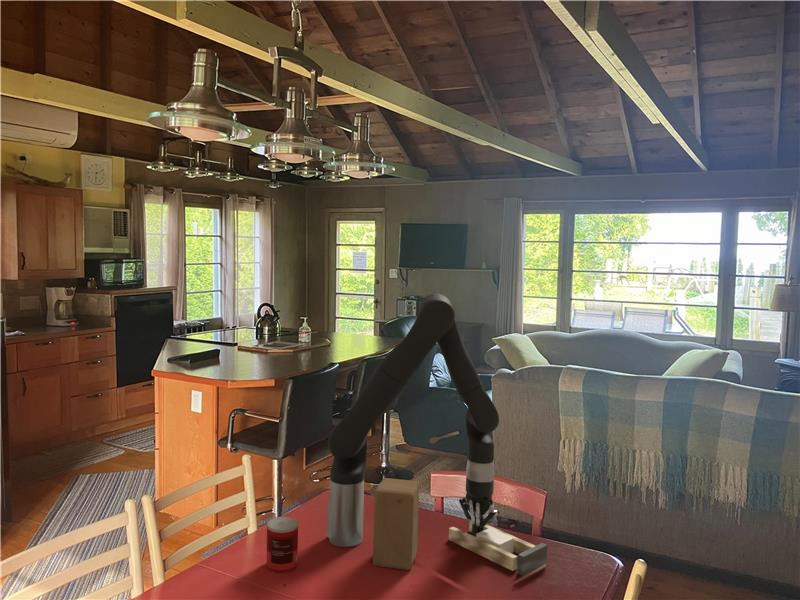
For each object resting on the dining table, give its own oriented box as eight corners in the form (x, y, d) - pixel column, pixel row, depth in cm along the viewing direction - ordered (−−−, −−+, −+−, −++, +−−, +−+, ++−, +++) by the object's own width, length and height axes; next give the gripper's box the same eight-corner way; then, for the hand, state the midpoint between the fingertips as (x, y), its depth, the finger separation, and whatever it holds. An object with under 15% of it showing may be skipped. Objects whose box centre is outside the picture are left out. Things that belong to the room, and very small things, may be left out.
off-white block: (475, 548, 171) (476, 533, 170) (490, 541, 175) (490, 527, 174) (499, 559, 165) (499, 544, 164) (513, 552, 169) (514, 537, 168)
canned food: (285, 554, 166) (286, 514, 165) (303, 566, 160) (304, 524, 159) (260, 564, 160) (260, 522, 159) (278, 576, 155) (278, 533, 154)
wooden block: (410, 572, 159) (413, 494, 157) (371, 566, 161) (373, 490, 159) (417, 553, 168) (420, 480, 167) (380, 548, 170) (382, 476, 169)
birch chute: (445, 541, 176) (446, 521, 175) (469, 531, 183) (470, 512, 182) (522, 578, 157) (523, 556, 156) (546, 566, 164) (547, 545, 163)
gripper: (452, 472, 175) (450, 532, 176) (490, 486, 165) (487, 550, 167) (470, 466, 180) (468, 525, 182) (508, 479, 171) (505, 542, 172)
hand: (477, 537), depth 174 cm, fingers closed
